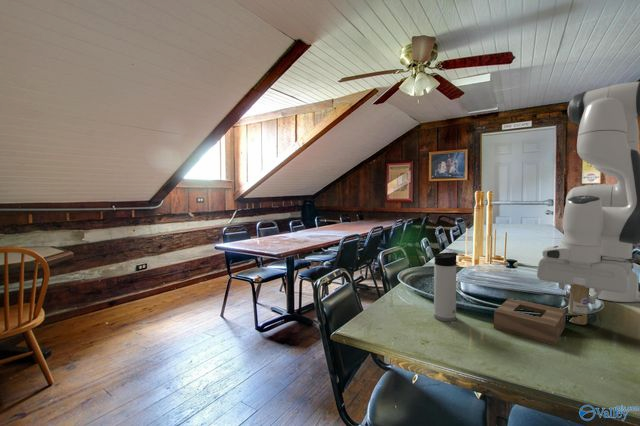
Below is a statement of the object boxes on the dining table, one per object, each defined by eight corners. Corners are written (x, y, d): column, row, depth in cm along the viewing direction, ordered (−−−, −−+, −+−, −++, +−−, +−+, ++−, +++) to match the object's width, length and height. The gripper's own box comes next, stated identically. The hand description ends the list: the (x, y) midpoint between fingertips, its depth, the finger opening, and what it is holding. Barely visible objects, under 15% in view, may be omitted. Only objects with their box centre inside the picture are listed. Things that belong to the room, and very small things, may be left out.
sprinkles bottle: (579, 326, 89) (583, 279, 88) (563, 319, 94) (566, 275, 92) (591, 324, 91) (595, 278, 89) (574, 317, 95) (577, 273, 94)
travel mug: (460, 321, 94) (461, 255, 93) (438, 321, 95) (438, 255, 93) (452, 313, 101) (452, 250, 99) (431, 313, 101) (431, 251, 99)
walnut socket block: (509, 313, 99) (509, 297, 99) (565, 327, 89) (565, 309, 89) (493, 328, 90) (494, 311, 89) (554, 345, 80) (555, 326, 79)
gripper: (632, 256, 85) (629, 306, 86) (541, 247, 100) (539, 290, 101) (631, 261, 81) (628, 314, 82) (536, 250, 95) (534, 295, 97)
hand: (578, 300), depth 92 cm, fingers open, 4 cm apart
